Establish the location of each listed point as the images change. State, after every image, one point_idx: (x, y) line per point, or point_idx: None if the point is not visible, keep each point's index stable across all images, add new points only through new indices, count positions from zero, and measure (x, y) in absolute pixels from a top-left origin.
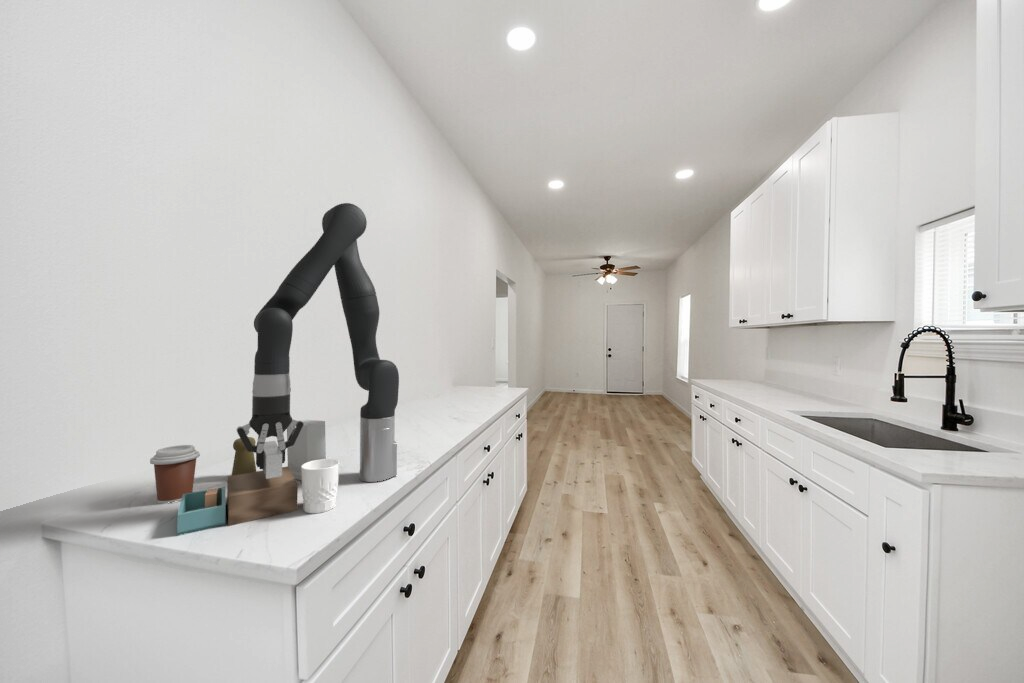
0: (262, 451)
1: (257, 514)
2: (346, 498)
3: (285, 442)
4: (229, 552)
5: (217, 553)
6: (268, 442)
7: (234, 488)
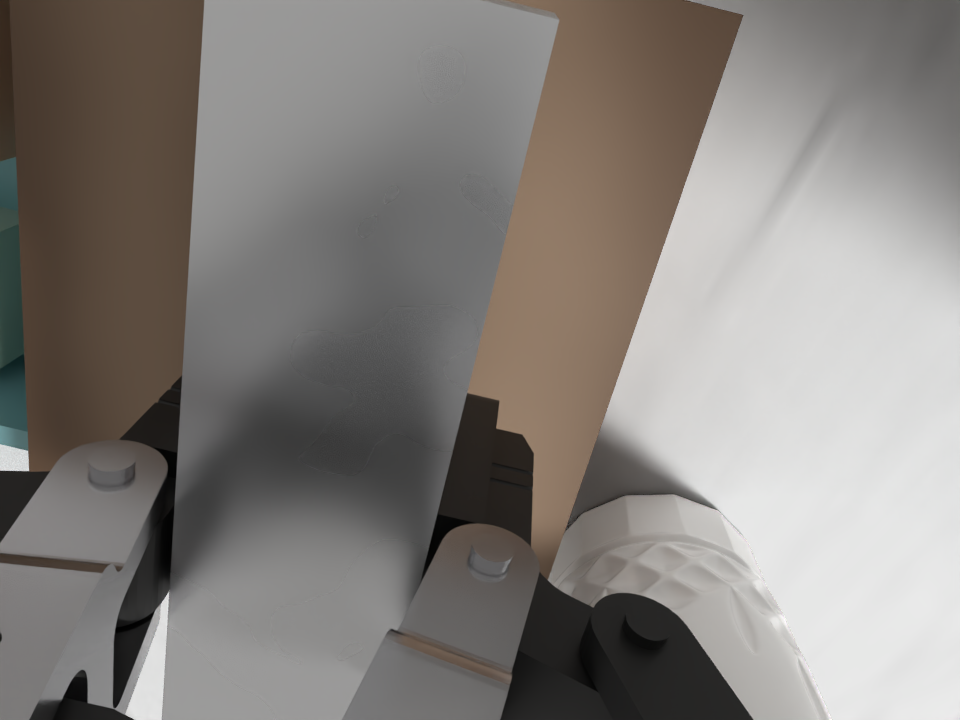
0: (158, 617)
1: None
2: (850, 578)
3: (519, 707)
4: (137, 686)
5: None
6: (370, 97)
7: (72, 383)
